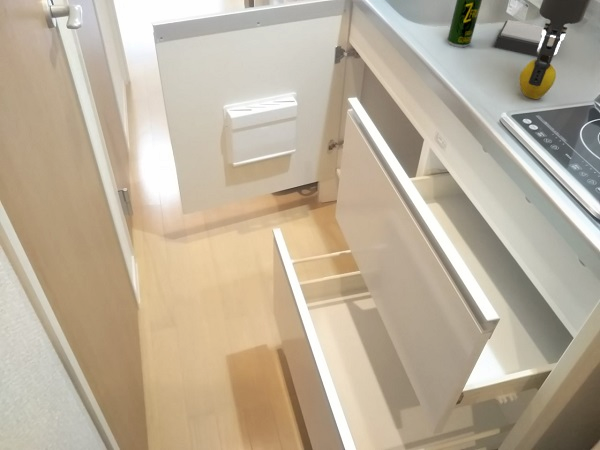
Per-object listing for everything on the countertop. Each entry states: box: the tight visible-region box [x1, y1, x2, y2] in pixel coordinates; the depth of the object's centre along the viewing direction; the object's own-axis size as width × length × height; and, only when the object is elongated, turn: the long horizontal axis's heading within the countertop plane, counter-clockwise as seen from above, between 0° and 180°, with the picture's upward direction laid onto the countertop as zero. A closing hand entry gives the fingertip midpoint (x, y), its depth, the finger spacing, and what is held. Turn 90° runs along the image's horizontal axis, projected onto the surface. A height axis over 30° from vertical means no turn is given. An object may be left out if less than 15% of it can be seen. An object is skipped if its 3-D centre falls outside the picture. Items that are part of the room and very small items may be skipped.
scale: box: [494, 19, 544, 57], centre depth 122 cm, size 12×11×3 cm
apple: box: [518, 59, 557, 100], centre depth 102 cm, size 6×6×8 cm
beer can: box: [447, 0, 483, 48], centre depth 118 cm, size 5×5×12 cm
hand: (537, 75), depth 101 cm, fingers open, 8 cm apart
